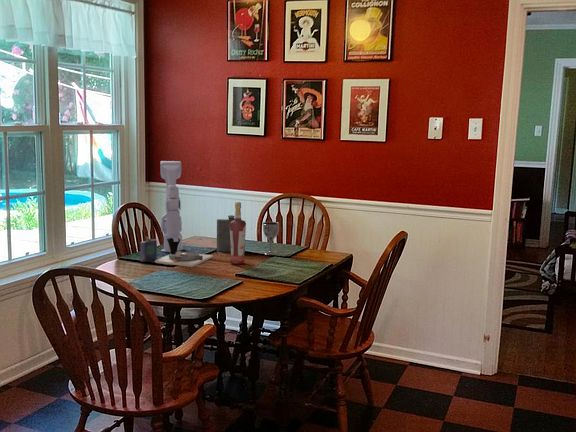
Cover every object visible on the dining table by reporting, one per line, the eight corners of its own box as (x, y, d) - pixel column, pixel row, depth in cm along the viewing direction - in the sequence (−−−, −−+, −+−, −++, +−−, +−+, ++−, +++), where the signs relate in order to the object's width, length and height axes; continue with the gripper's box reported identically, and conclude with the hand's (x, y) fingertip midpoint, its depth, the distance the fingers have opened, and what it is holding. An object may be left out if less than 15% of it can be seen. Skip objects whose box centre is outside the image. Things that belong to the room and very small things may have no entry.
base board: (177, 253, 294) (177, 248, 293) (212, 257, 288) (212, 252, 287) (154, 262, 275) (154, 256, 275) (192, 267, 269) (192, 261, 269)
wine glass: (279, 251, 303) (280, 222, 300) (277, 255, 295) (278, 224, 292) (263, 251, 303) (264, 221, 301) (261, 254, 296) (261, 224, 293)
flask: (218, 249, 304) (218, 214, 301) (245, 251, 301) (246, 215, 298) (215, 251, 300) (216, 215, 297) (243, 253, 298) (244, 217, 295)
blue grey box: (143, 262, 276) (142, 238, 274) (138, 261, 277) (138, 238, 275) (158, 258, 283) (157, 235, 281) (153, 257, 285) (153, 235, 283)
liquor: (243, 266, 273) (243, 204, 268) (227, 264, 274) (227, 203, 269) (247, 262, 280) (248, 202, 275) (232, 261, 281) (232, 201, 276)
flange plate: (178, 252, 290) (178, 244, 289) (205, 255, 285) (205, 247, 285) (160, 259, 275) (160, 251, 274) (188, 263, 270) (188, 254, 270)
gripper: (161, 222, 282) (162, 251, 285) (167, 228, 269) (167, 258, 271) (177, 221, 285) (177, 250, 287) (182, 227, 271) (183, 257, 274)
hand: (173, 254), depth 279 cm, fingers closed
